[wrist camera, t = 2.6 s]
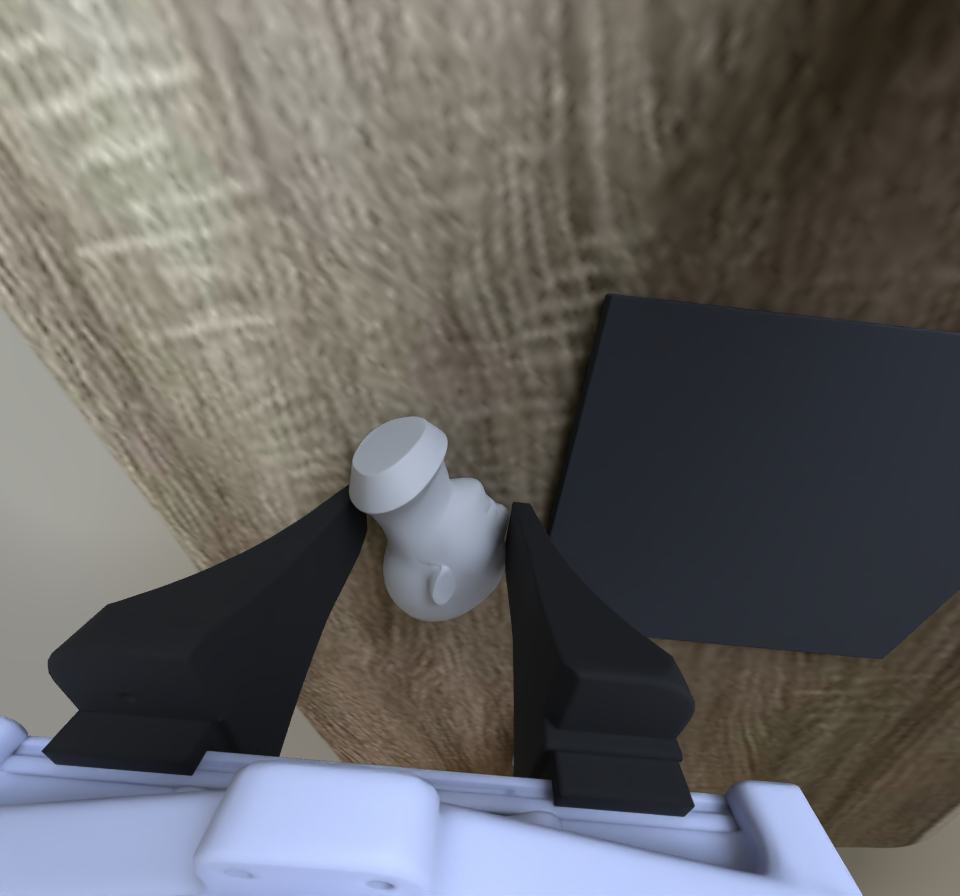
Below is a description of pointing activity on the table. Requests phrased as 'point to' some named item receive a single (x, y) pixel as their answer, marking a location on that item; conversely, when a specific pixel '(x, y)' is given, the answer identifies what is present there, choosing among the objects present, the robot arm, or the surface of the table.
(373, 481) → the smooth white sculpture
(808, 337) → the mat
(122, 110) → the table surface
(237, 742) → the robot arm
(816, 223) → the table surface
